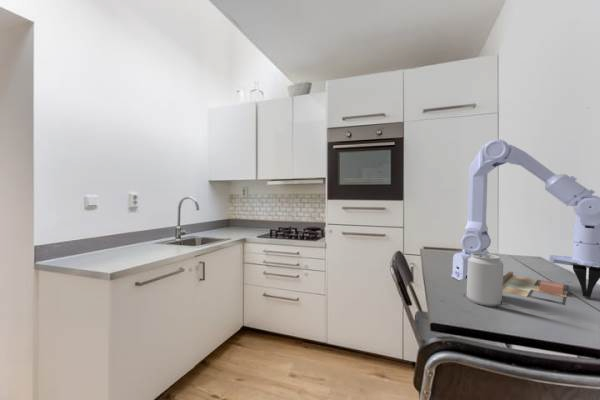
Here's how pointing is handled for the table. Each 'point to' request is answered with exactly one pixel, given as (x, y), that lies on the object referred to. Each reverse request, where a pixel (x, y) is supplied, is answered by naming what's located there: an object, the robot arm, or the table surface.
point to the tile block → (552, 287)
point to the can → (485, 279)
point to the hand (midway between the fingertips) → (586, 296)
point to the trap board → (526, 287)
